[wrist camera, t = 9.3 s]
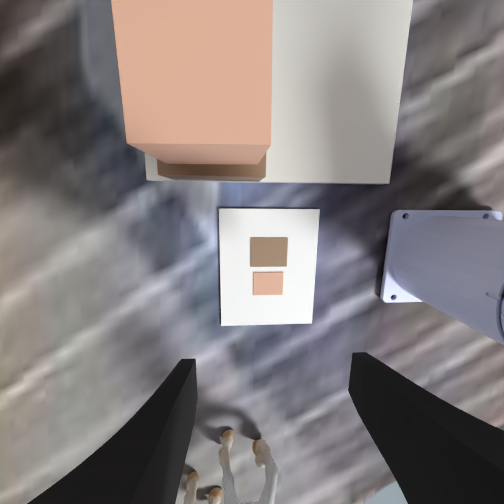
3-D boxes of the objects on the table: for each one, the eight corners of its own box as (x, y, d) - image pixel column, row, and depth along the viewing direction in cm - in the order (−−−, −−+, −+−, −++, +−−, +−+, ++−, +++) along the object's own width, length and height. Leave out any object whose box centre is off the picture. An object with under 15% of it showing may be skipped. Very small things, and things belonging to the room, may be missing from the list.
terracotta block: (257, 62, 12) (273, -28, 7) (257, 164, 13) (270, 144, 9) (158, 59, 12) (106, -38, 7) (167, 164, 13) (126, 143, 8)
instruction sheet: (318, 209, 19) (320, 209, 19) (310, 322, 21) (312, 323, 21) (219, 208, 19) (218, 208, 18) (221, 324, 21) (221, 326, 21)
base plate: (407, -31, 16) (418, -45, 15) (381, 184, 19) (389, 183, 18) (132, -53, 15) (125, -71, 14) (151, 180, 18) (146, 179, 17)
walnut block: (260, 89, 16) (268, 55, 12) (258, 181, 17) (265, 176, 14) (170, 85, 16) (148, 48, 12) (175, 180, 17) (158, 174, 13)
